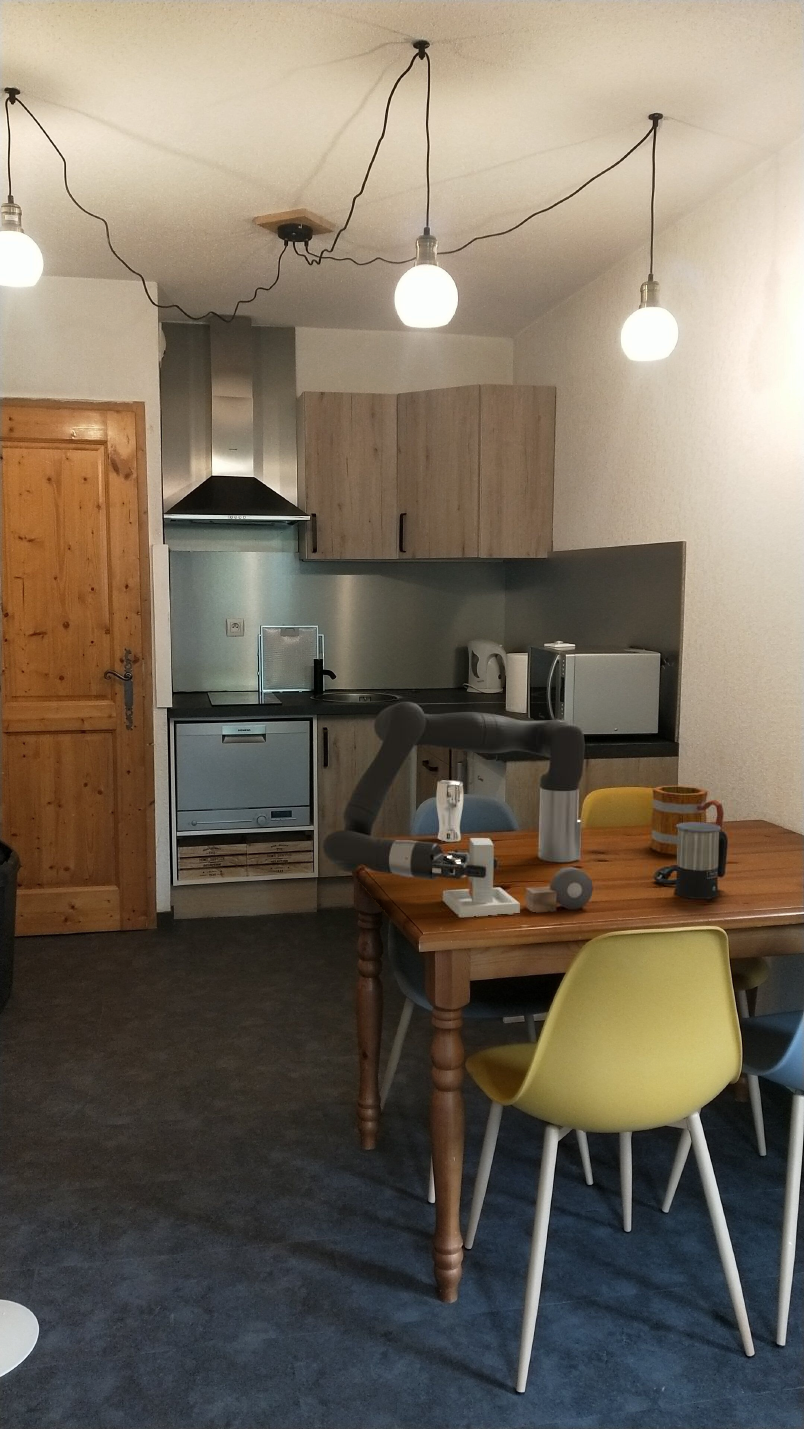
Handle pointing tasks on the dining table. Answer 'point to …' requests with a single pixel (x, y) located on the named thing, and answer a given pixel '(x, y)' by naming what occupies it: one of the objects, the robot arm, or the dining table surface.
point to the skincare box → (484, 856)
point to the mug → (678, 813)
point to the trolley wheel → (572, 887)
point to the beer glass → (449, 809)
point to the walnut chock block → (541, 899)
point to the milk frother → (697, 861)
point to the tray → (466, 908)
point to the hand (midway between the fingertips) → (491, 868)
